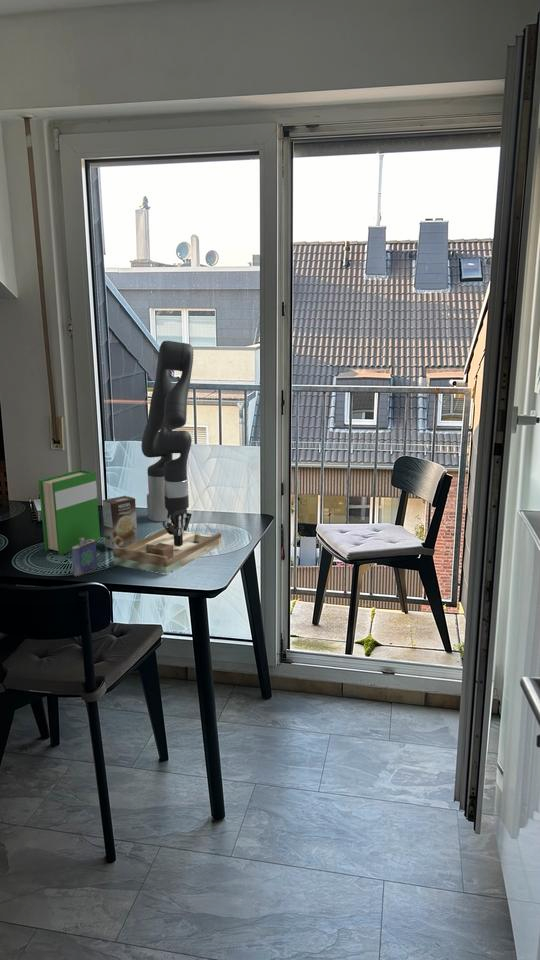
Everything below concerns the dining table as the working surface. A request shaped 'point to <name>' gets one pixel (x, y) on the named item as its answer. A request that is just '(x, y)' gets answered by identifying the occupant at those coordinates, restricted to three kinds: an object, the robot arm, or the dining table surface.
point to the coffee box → (119, 521)
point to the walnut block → (162, 550)
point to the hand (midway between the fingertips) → (178, 545)
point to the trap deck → (182, 555)
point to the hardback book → (69, 510)
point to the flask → (84, 557)
